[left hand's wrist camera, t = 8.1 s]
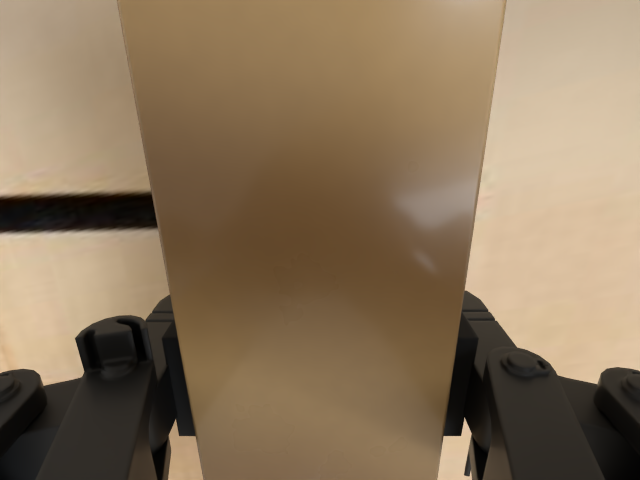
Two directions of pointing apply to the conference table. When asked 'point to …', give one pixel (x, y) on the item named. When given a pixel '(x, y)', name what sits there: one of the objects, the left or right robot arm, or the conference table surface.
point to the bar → (315, 219)
